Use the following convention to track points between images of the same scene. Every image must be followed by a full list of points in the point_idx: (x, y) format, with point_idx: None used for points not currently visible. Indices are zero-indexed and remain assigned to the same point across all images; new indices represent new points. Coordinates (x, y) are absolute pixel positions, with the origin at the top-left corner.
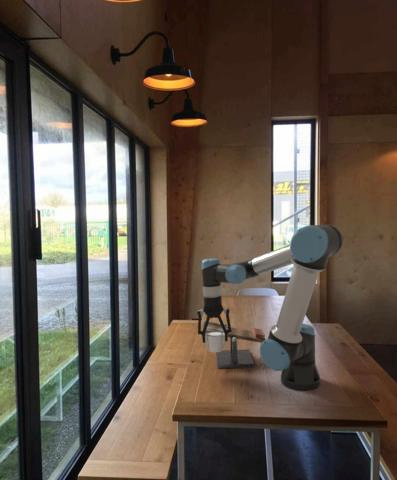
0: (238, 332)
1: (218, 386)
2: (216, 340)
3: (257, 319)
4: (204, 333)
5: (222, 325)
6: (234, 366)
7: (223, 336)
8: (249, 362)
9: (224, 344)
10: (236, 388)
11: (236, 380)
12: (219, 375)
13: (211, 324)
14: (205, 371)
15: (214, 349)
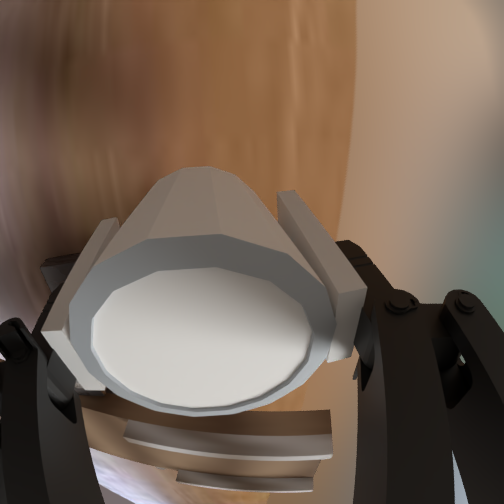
0: (97, 433)
1: (182, 10)
2: (153, 211)
3: (163, 482)
4: (390, 316)
5: (24, 476)
6: None
7: (63, 311)
8: (59, 278)
9: (91, 247)
10: (91, 8)
11: (90, 92)
12: (185, 143)
13: (265, 479)
14: (268, 193)
15: (201, 173)
